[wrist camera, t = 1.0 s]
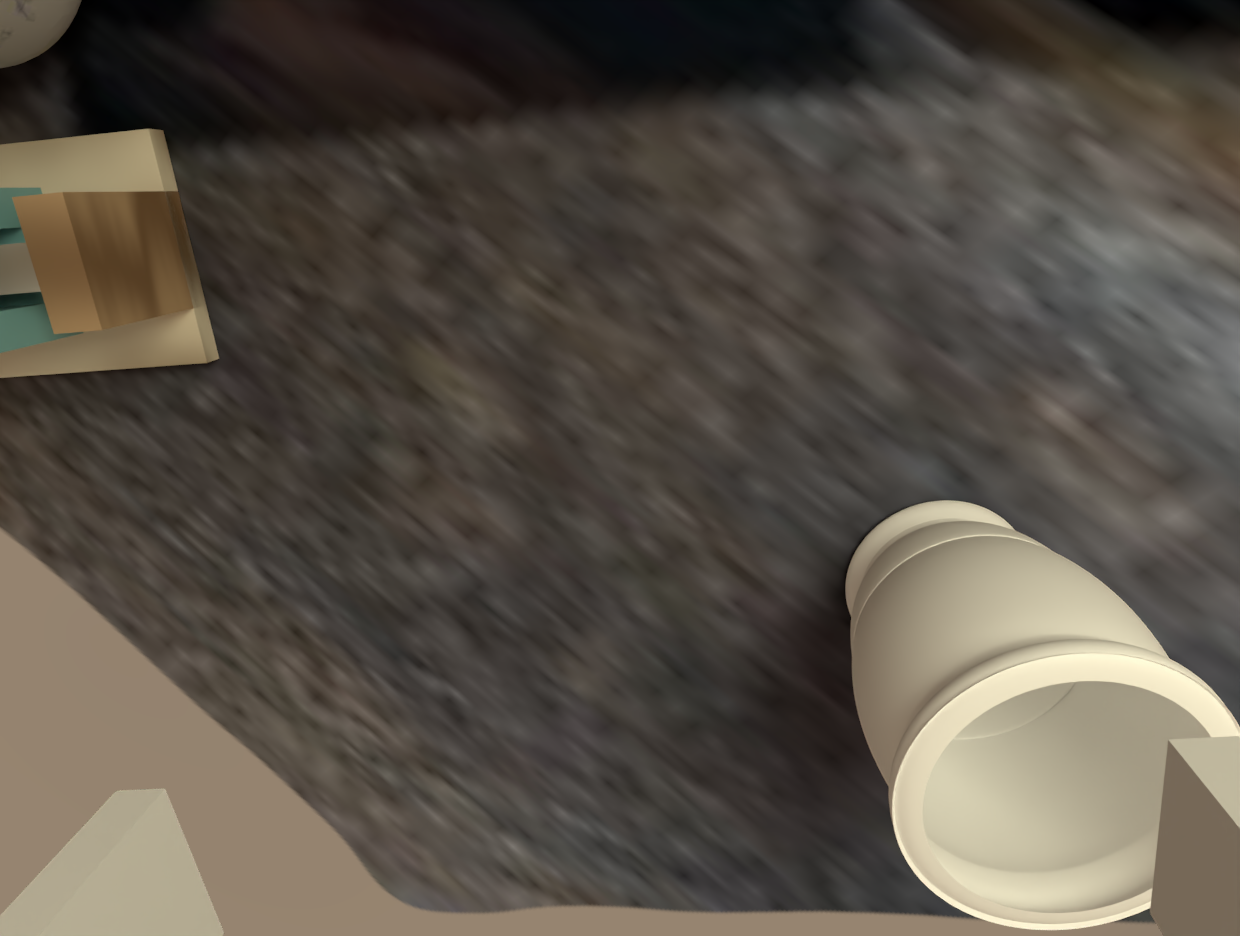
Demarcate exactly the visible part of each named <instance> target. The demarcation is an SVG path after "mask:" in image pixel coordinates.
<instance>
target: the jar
mask: <svg viewBox="0 0 1240 936" xmlns="http://www.w3.org/2000/svg"><path fill="white" fill-rule="evenodd" d="M845 594H846V602H847V606H848V610H849V613H850V615H851V627H850V640H851V652H852V681H853V690H854V697H855V702H856V707H857V712H858V716H859V720H860V723H861V726H862V730H863V733H864V736H865V738H866V741H867V744H868V746H869V749H870V751H871V753H872V756H873V758H874V760H875V762H876V764H877V766H878V768H879V770H880V772H881V774H882V776H883V778H884V780H885V782H886V783H887V785H888V787H889V789H888V796H889V807H890V814H891V819H892V823H893V826H894V830H895V834H896V838H897V841H898V844H899V847H900V849H901V851H902V853H903V855H904V857H905V859H906V861H907V863H908V864H909V866H910V867H911V869H912V870H913V871H914V873H915V874H916V875H917V876H918V878H919V879H920V880H921V881H922V882H923V883H924V884H925V885H926V886H927V887H928V888H929V889H930V890H931V891H933V892H934V893H935V894H936V895H938V896H939V897H940V898H942V899H943V900H945V901H946V902H948V903H949V904H951V905H952V906H954V907H956V908H958V909H960V910H962V911H964V912H966V913H968V914H970V915H973V916H975V917H978V918H981V919H983V920H986V921H990V922H993V923H997V924H1001V925H1005V926H1010V927H1016V928H1024V929H1034V930H1065V929H1076V928H1084V927H1090V926H1095V925H1101V924H1105V923H1109V922H1113V921H1116V920H1120V919H1123V918H1126V917H1129V916H1132V915H1134V914H1137V913H1139V912H1142V911H1144V910H1146V909H1149V908H1150V906H1151V897H1152V888H1153V878H1154V869H1155V859H1156V850H1157V840H1158V831H1159V821H1160V812H1161V802H1162V793H1163V784H1164V774H1165V765H1166V755H1167V746H1168V739H1188V738H1209V737H1229V736H1239V737H1240V727H1239V725H1238V723H1237V721H1236V720H1235V718H1234V717H1233V715H1232V714H1231V712H1230V711H1229V710H1228V709H1227V707H1226V706H1225V704H1224V703H1223V702H1222V700H1221V699H1220V698H1219V697H1218V695H1217V694H1216V693H1215V692H1214V691H1213V690H1212V689H1211V688H1210V687H1209V686H1208V685H1207V684H1206V683H1205V682H1204V681H1203V680H1202V679H1200V678H1199V677H1198V676H1196V675H1195V674H1194V673H1192V672H1191V671H1189V670H1188V669H1187V668H1185V667H1183V666H1182V665H1180V664H1179V663H1177V662H1175V661H1173V660H1171V659H1169V657H1168V656H1167V654H1166V653H1165V651H1164V650H1163V648H1162V647H1161V645H1160V644H1159V642H1158V641H1157V640H1156V638H1155V637H1154V636H1153V634H1152V633H1151V632H1150V630H1149V629H1148V628H1147V627H1146V625H1145V624H1144V623H1143V622H1142V621H1141V619H1140V618H1139V617H1138V616H1137V615H1136V614H1135V613H1134V612H1133V610H1132V609H1131V608H1130V607H1129V606H1128V605H1127V604H1126V603H1125V602H1124V601H1123V600H1122V599H1121V598H1120V597H1119V596H1117V595H1116V594H1115V593H1114V592H1113V591H1112V590H1111V589H1110V588H1108V587H1107V586H1106V585H1105V584H1104V583H1102V582H1101V581H1100V580H1098V579H1097V578H1096V577H1094V576H1093V575H1092V574H1090V573H1089V572H1087V571H1086V570H1085V569H1083V568H1081V567H1080V566H1078V565H1077V564H1075V563H1073V562H1072V561H1070V560H1068V559H1067V558H1065V557H1063V556H1061V555H1059V554H1057V553H1055V552H1053V551H1052V550H1050V549H1049V548H1047V547H1046V546H1044V545H1042V544H1041V543H1039V542H1037V541H1036V540H1034V539H1032V538H1030V537H1028V536H1026V535H1024V534H1022V533H1019V532H1017V531H1015V530H1014V529H1013V527H1012V526H1011V525H1010V524H1009V523H1008V522H1006V521H1005V520H1004V519H1003V518H1001V517H1000V516H999V515H997V514H996V513H994V512H992V511H990V510H988V509H986V508H984V507H981V506H978V505H975V504H972V503H967V502H962V501H952V500H942V501H931V502H925V503H921V504H917V505H914V506H911V507H908V508H906V509H903V510H901V511H899V512H897V513H895V514H893V515H891V516H890V517H888V518H887V519H885V520H884V521H882V522H881V523H880V524H878V525H877V526H876V527H875V528H874V529H873V530H872V531H871V532H870V533H869V534H868V535H867V536H866V537H865V538H864V540H863V541H862V542H861V544H860V545H859V547H858V548H857V550H856V551H855V553H854V555H853V557H852V560H851V562H850V565H849V568H848V572H847V576H846V584H845Z"/></svg>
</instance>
